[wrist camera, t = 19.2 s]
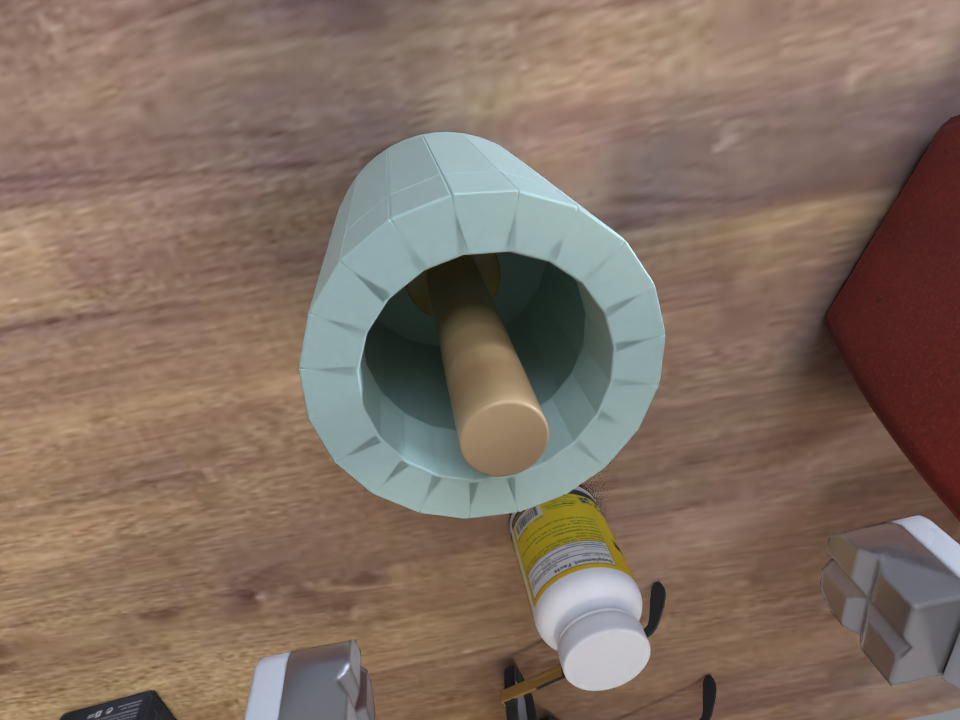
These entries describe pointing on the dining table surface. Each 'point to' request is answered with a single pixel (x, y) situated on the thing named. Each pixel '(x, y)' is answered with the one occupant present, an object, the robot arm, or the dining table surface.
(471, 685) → the dining table surface
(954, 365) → the flower pot
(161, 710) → the small box
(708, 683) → the sunglasses
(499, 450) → the beige handle with collar
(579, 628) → the pill bottle
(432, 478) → the mint green tube
